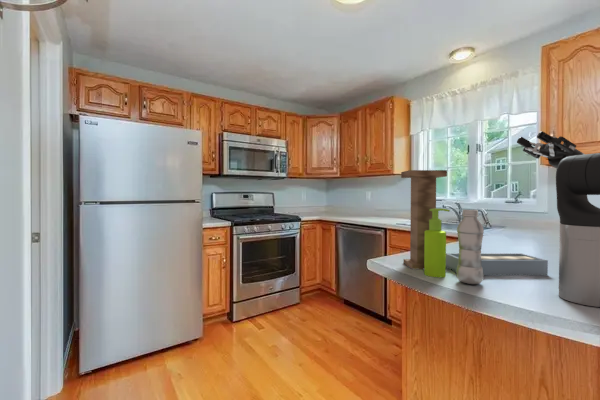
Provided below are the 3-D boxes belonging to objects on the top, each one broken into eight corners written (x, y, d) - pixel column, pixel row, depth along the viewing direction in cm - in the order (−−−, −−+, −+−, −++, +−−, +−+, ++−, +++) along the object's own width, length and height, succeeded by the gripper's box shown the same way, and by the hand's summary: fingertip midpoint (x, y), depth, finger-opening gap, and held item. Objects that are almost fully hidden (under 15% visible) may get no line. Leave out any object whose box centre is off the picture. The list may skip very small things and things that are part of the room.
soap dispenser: (452, 277, 86) (453, 208, 85) (429, 277, 86) (429, 208, 86) (443, 272, 92) (444, 208, 91) (421, 272, 92) (421, 207, 91)
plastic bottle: (456, 284, 79) (456, 210, 79) (456, 278, 85) (456, 209, 85) (484, 288, 76) (485, 210, 76) (482, 281, 82) (483, 209, 82)
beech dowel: (525, 267, 95) (526, 256, 95) (534, 269, 92) (534, 258, 91) (464, 267, 95) (464, 256, 95) (470, 269, 91) (470, 258, 91)
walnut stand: (434, 263, 104) (435, 172, 103) (446, 269, 96) (447, 170, 95) (400, 263, 104) (401, 172, 103) (409, 269, 96) (409, 170, 95)
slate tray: (521, 266, 99) (521, 253, 99) (547, 275, 88) (547, 260, 88) (444, 266, 99) (444, 253, 99) (462, 275, 88) (462, 260, 88)
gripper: (557, 154, 103) (518, 131, 103) (599, 148, 89) (553, 121, 88) (546, 173, 103) (507, 150, 103) (586, 170, 89) (540, 142, 89)
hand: (528, 136), depth 96 cm, fingers open, 8 cm apart
